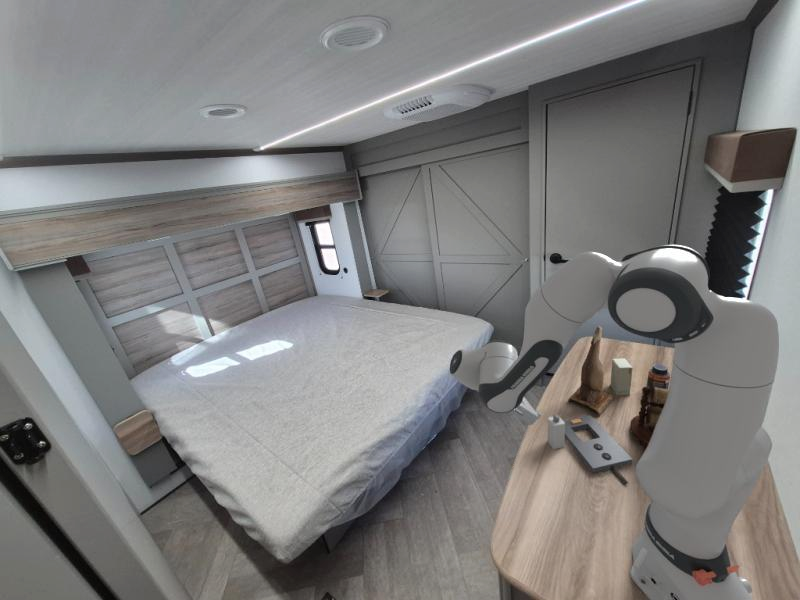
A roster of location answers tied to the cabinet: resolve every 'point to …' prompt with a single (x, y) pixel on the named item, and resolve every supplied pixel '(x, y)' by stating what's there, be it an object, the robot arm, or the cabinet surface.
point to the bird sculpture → (593, 378)
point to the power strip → (596, 447)
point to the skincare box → (621, 376)
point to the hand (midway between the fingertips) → (529, 405)
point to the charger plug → (556, 432)
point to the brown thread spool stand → (648, 413)
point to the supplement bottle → (658, 376)
